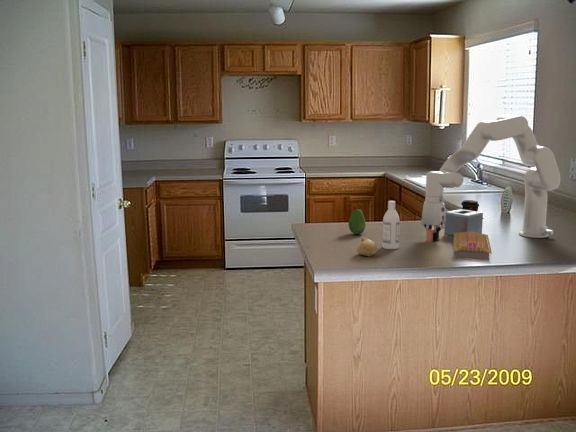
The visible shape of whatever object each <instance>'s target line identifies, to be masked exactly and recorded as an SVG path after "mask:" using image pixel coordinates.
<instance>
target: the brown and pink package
mask: <svg viewBox="0 0 576 432" xmlns="http://www.w3.org/2000/svg"><path fill="white" fill-rule="evenodd" d="M463 233H464V234H463ZM465 233H466V234H467V235H466V234H465ZM476 234H477V235H476ZM452 249H453V252H454V253H455V259H460V260H461V259H463V260H464V259H465V260H477V261H478V260H482V261H490V254H491V255H492V254H493V252H492V247H491V244H490V238H489V235H488V234H485V233H483V232H482V233H479V234H478V233H477V232H472V231H470V232H460V234H459V233H454V237H453V248H452Z"/></svg>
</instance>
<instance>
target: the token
mask: <svg viewBox="0 0 576 432" xmlns="http://www.w3.org/2000/svg"><path fill="white" fill-rule="evenodd" d="M425 232H426V235H425V236H426V238H425V242H429V243H433V242H434V241H433V233H434V227H432V229H429V230H427V231H425ZM439 240H440V232H438V241H439ZM432 241H433V242H432Z"/></svg>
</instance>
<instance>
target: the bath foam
mask: <svg viewBox="0 0 576 432" xmlns="http://www.w3.org/2000/svg"><path fill="white" fill-rule="evenodd" d="M387 204H388V205H387V208H388V209H387V210H386V212H385V213H384V215H383V218H382V238H381V239H382V240H381V241H382V243H381V245H382V248H383V249H385V250H397V249H399V247H400V228H401V227H400V224H401V221H400V220H401V219H400V216H399V214H398V211H397V210H396V201H395V200H388V202H387Z"/></svg>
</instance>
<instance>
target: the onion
mask: <svg viewBox="0 0 576 432" xmlns="http://www.w3.org/2000/svg"><path fill="white" fill-rule="evenodd" d="M377 250H378V246H377V245H376V242H374V241H373V240H371V239H368V238H367V237H365V238H364V237H361V238H360V242H359V243H357V246H356V251H357V252H358V254H359V255H361V256H365V257H372V256H374V255H375V254H376V253H377V252H378V251H377Z"/></svg>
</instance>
